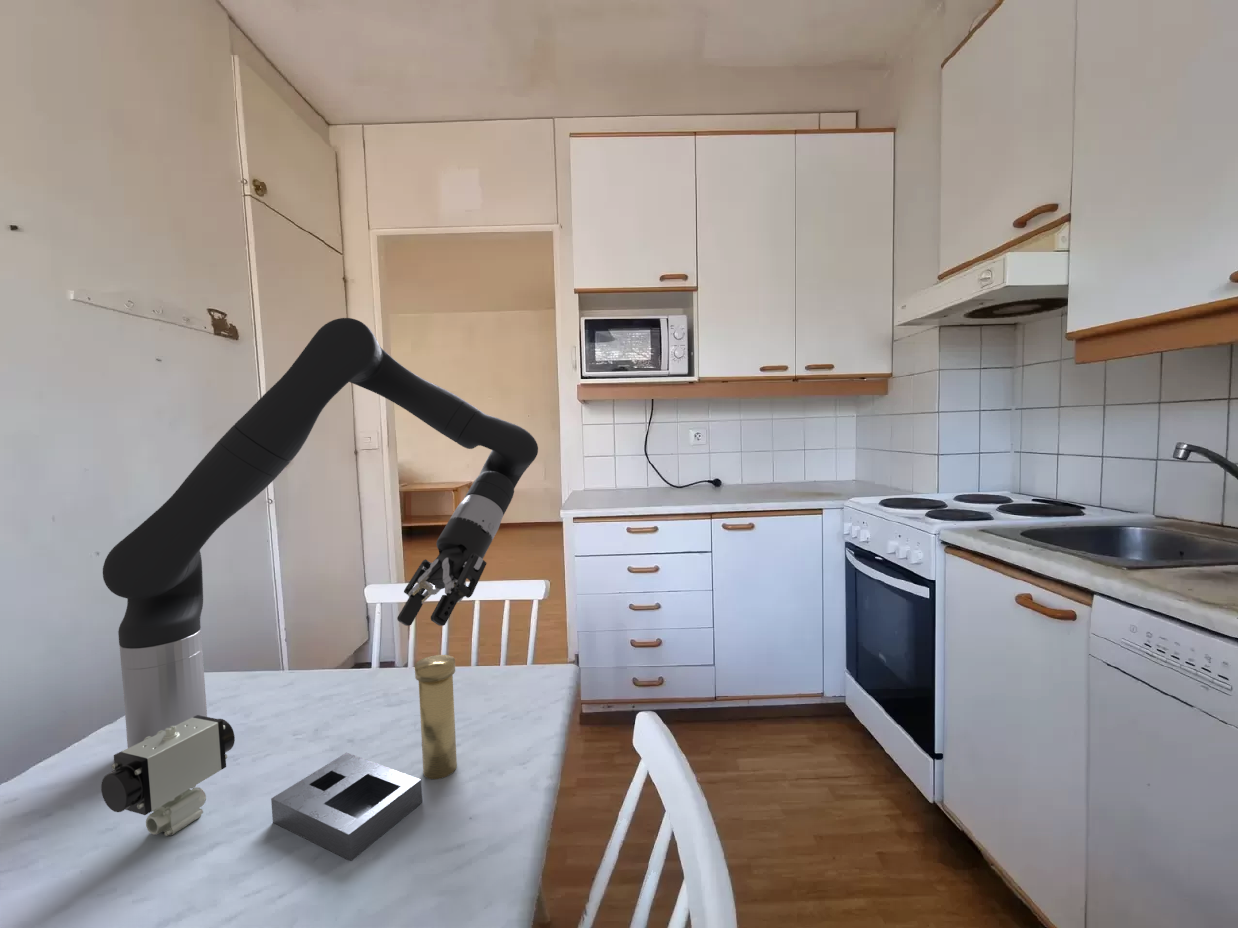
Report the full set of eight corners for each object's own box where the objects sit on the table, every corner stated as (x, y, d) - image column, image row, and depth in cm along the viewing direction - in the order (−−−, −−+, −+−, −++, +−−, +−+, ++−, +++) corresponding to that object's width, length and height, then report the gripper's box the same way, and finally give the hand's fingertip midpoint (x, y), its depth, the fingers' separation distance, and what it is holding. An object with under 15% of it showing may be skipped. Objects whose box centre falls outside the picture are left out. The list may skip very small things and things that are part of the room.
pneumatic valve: (240, 795, 68) (233, 705, 68) (133, 865, 57) (124, 759, 57) (209, 787, 70) (203, 700, 69) (100, 855, 59) (91, 751, 58)
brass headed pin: (411, 774, 72) (406, 667, 71) (440, 753, 76) (435, 652, 75) (440, 785, 69) (434, 673, 68) (467, 762, 74) (462, 658, 73)
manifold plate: (272, 822, 63) (271, 798, 63) (348, 773, 72) (346, 752, 72) (350, 860, 57) (348, 834, 57) (422, 802, 66) (421, 779, 66)
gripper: (428, 521, 87) (372, 611, 77) (483, 509, 78) (428, 608, 68) (461, 546, 91) (411, 635, 81) (516, 538, 82) (468, 636, 72)
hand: (419, 623), depth 74 cm, fingers open, 8 cm apart
